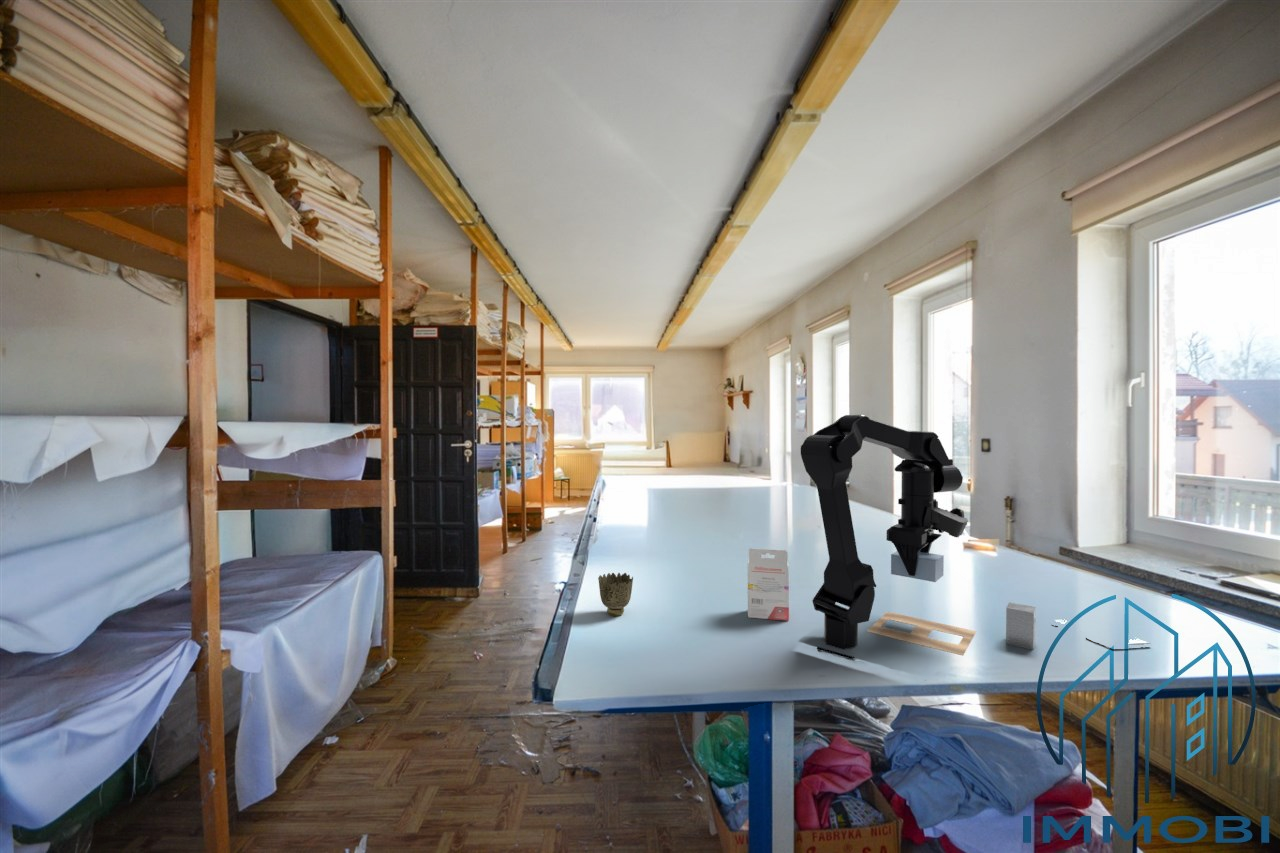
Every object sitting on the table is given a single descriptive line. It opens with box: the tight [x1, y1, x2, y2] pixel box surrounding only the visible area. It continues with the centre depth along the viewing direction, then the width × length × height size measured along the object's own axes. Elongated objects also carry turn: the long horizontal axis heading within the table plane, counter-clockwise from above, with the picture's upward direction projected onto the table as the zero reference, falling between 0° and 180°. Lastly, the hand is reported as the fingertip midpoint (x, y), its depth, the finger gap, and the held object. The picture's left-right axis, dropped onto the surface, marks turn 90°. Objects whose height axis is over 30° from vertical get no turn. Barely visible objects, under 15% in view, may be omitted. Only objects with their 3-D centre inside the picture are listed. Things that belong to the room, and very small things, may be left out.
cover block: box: [890, 550, 945, 583], centre depth 106 cm, size 6×8×4 cm
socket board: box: [866, 611, 977, 656], centre depth 102 cm, size 14×16×2 cm
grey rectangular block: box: [1005, 602, 1036, 651], centre depth 96 cm, size 4×4×8 cm
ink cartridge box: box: [747, 547, 790, 622], centre depth 114 cm, size 9×5×15 cm, turn 76°
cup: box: [597, 572, 634, 617], centre depth 114 cm, size 8×7×8 cm
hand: (916, 572), depth 106 cm, fingers closed on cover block, 6 cm apart
